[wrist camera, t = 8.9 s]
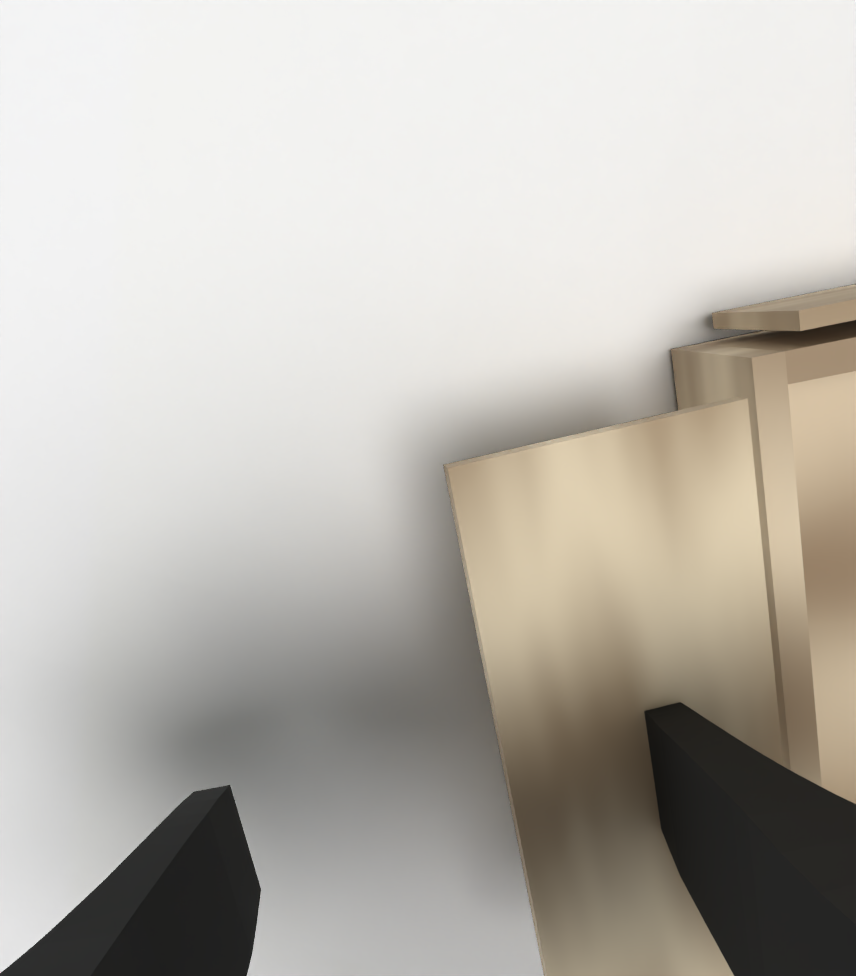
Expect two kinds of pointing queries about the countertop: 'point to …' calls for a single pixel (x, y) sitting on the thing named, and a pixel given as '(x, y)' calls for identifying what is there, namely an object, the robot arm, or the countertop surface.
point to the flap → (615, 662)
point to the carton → (799, 505)
